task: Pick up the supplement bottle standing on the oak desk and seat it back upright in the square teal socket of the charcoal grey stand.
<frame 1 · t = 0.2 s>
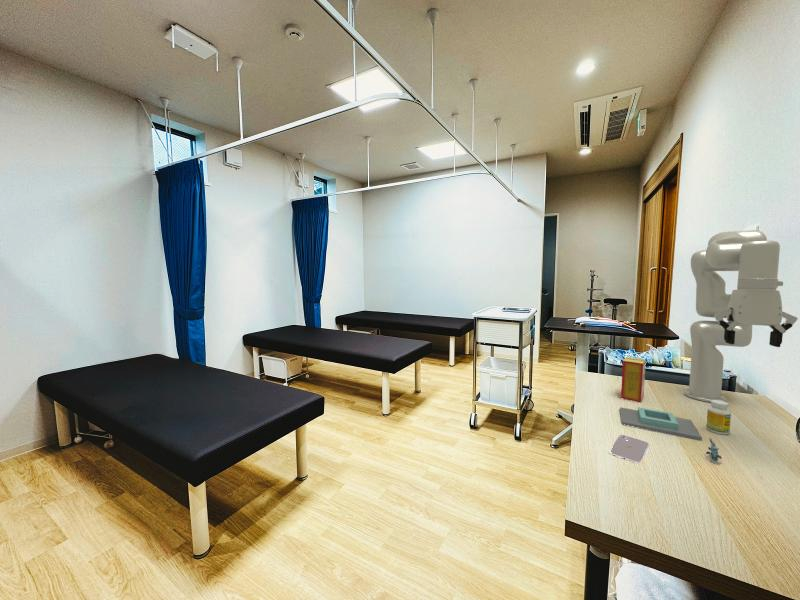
hand: (751, 344, 93), 30 cm above the table, tool pointing down, fingers open, 9 cm apart
cup stand: (656, 423, 109), on the table
supplement bottle: (717, 431, 104), on the table
baking soda box: (632, 397, 133), on the table
sculpture: (713, 462, 88), on the table
mobile phone: (629, 450, 94), on the table
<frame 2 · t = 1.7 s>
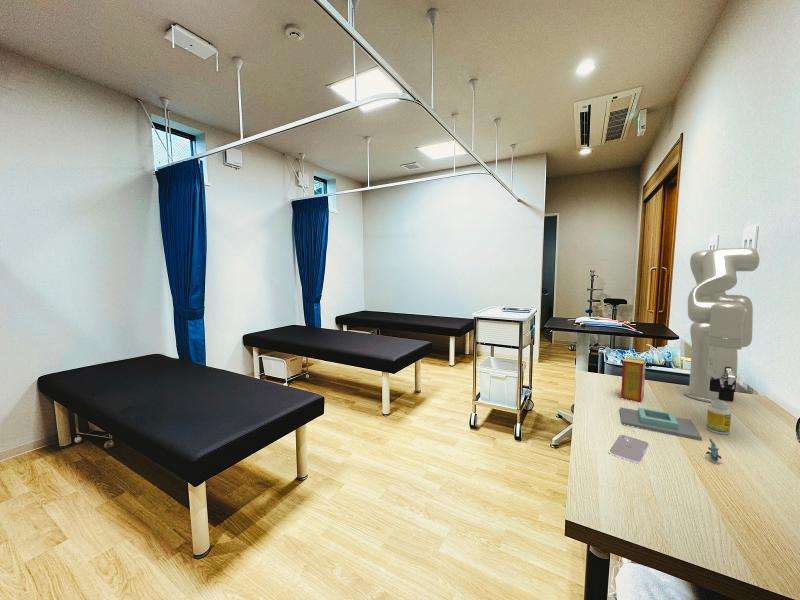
hand: (720, 396, 103), 12 cm above the table, tool pointing down, fingers open, 9 cm apart
nothing on the table moved.
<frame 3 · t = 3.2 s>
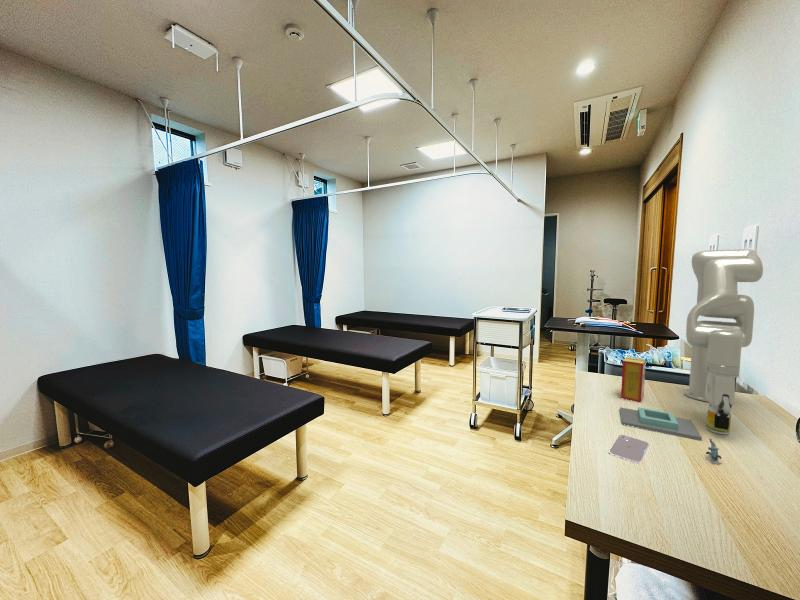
hand: (718, 423, 104), 2 cm above the table, tool pointing down, fingers closed on supplement bottle, 5 cm apart
supplement bottle: (717, 431, 104), on the table, touching gripper
everything else where it was.
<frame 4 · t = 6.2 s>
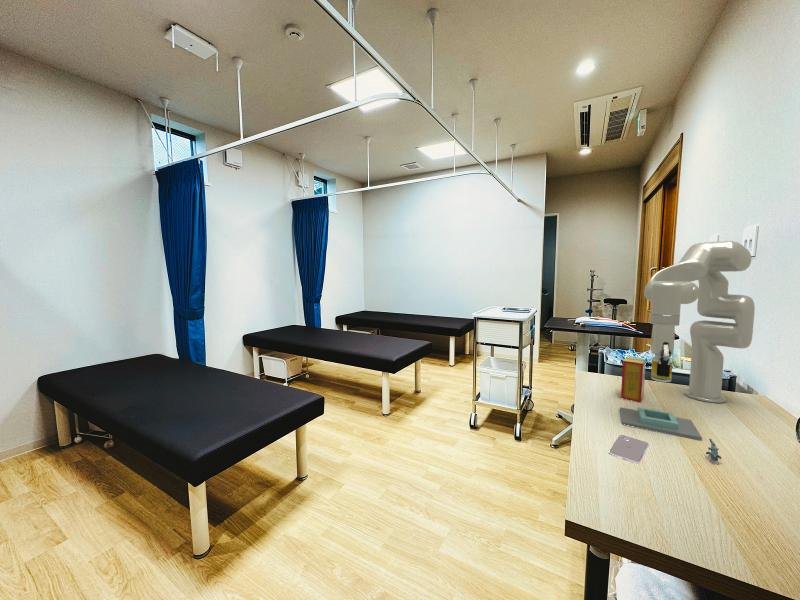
hand: (661, 373, 108), 17 cm above the table, tool pointing down, fingers closed on supplement bottle, 5 cm apart
supplement bottle: (660, 380, 108), point 15 cm above the table, touching gripper
everything else where it was.
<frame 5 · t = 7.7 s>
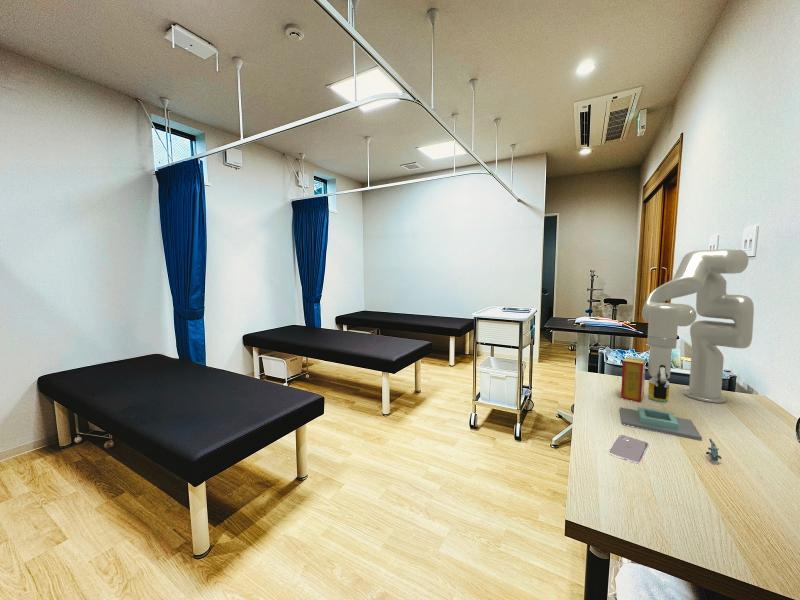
hand: (658, 394, 108), 10 cm above the table, tool pointing down, fingers closed on supplement bottle, 5 cm apart
supplement bottle: (657, 402, 109), point 7 cm above the table, touching gripper
everything else where it was.
when the fingers open (4 cm above the table, at t = 9.2 s): supplement bottle stays where it is, resting on cup stand.
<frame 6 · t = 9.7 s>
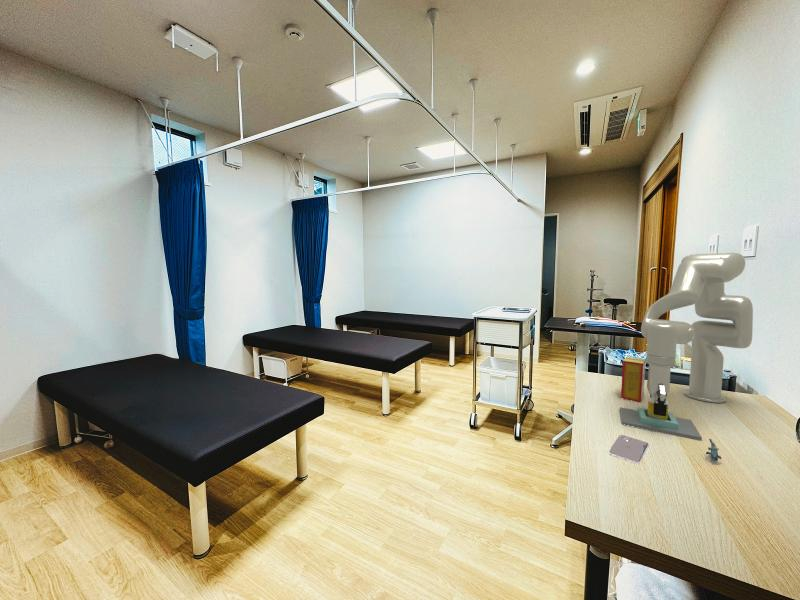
hand: (657, 409, 109), 5 cm above the table, tool pointing down, fingers open, 9 cm apart
supplement bottle: (657, 421, 109), point 1 cm above the table, touching cup stand
everything else where it was.
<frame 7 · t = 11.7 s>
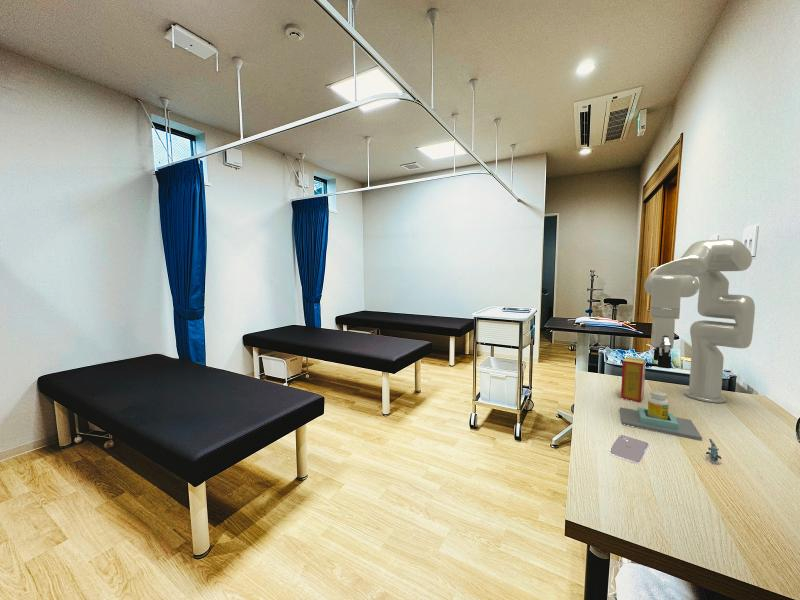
hand: (661, 364, 108), 20 cm above the table, tool pointing down, fingers open, 9 cm apart
nothing on the table moved.
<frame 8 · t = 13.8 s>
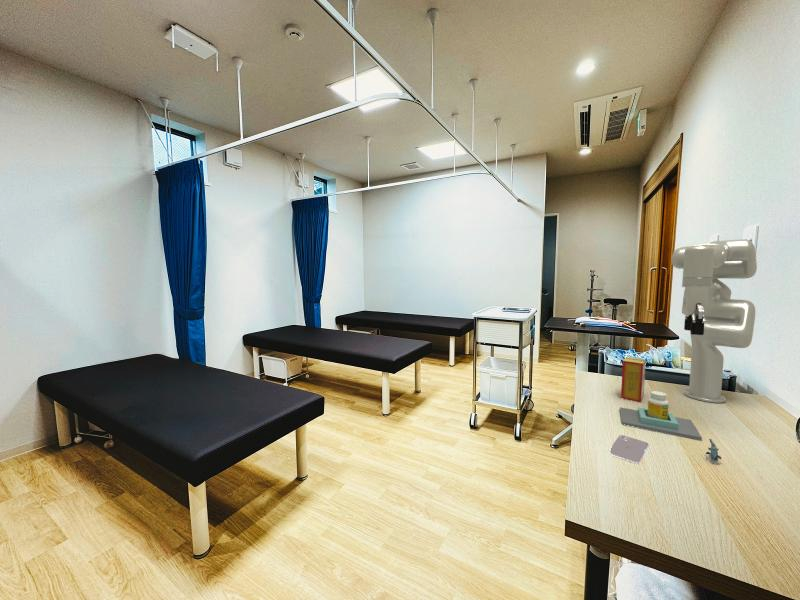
hand: (693, 332, 112), 30 cm above the table, tool pointing down, fingers open, 9 cm apart
nothing on the table moved.
at the end: supplement bottle 0.1 cm off-centre on the cup stand, point 0.8 cm above the cup stand's base; supplement bottle tilted 0°; the gripper is holding nothing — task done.
